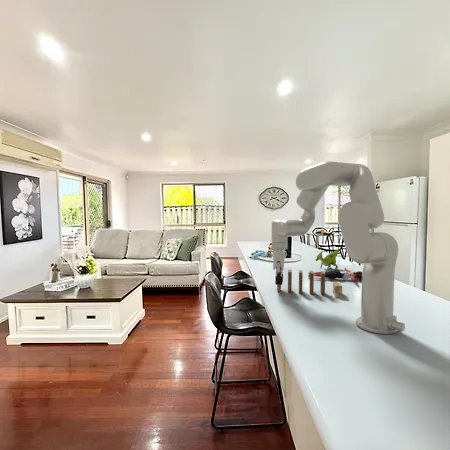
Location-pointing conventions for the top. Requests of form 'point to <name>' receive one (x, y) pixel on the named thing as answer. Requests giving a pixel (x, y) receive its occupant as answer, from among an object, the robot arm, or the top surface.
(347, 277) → the toy
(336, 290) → the end block
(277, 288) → the domino
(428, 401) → the top surface
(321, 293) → the domino
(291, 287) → the domino
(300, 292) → the domino
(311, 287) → the domino
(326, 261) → the toy
